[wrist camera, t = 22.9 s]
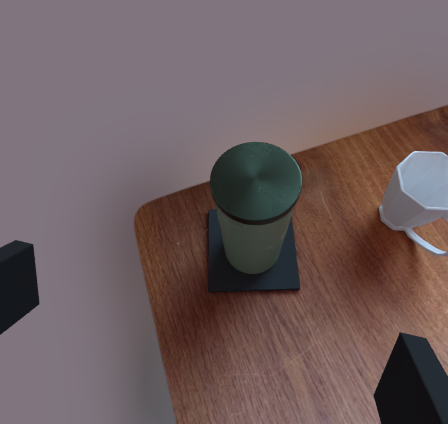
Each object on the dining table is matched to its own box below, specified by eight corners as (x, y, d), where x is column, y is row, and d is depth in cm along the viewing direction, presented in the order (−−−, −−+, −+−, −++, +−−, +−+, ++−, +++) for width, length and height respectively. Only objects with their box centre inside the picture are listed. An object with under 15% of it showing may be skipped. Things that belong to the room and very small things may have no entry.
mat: (208, 292, 34) (208, 291, 34) (209, 211, 38) (208, 209, 38) (299, 289, 34) (300, 288, 33) (289, 207, 38) (290, 205, 38)
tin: (224, 276, 34) (209, 222, 21) (223, 221, 37) (209, 144, 24) (283, 273, 34) (308, 218, 20) (278, 219, 37) (296, 139, 23)
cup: (407, 182, 38) (445, 141, 31) (458, 255, 34) (515, 226, 27) (355, 198, 38) (382, 161, 31) (400, 275, 34) (443, 252, 26)
